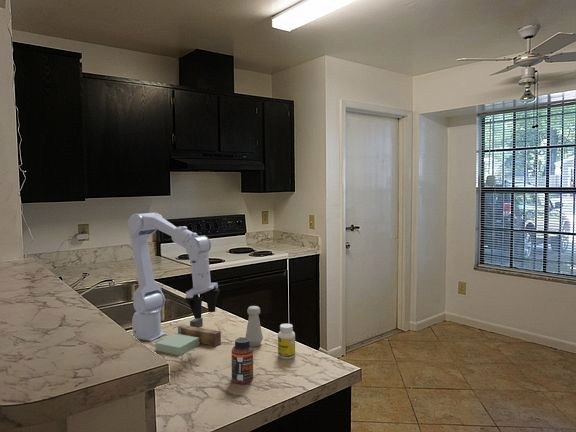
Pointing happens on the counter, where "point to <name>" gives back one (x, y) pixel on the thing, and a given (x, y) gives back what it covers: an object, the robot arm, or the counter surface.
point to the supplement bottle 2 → (286, 341)
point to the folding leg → (201, 334)
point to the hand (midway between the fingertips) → (205, 315)
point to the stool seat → (177, 344)
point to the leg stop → (196, 323)
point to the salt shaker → (254, 327)
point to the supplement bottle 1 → (242, 361)
